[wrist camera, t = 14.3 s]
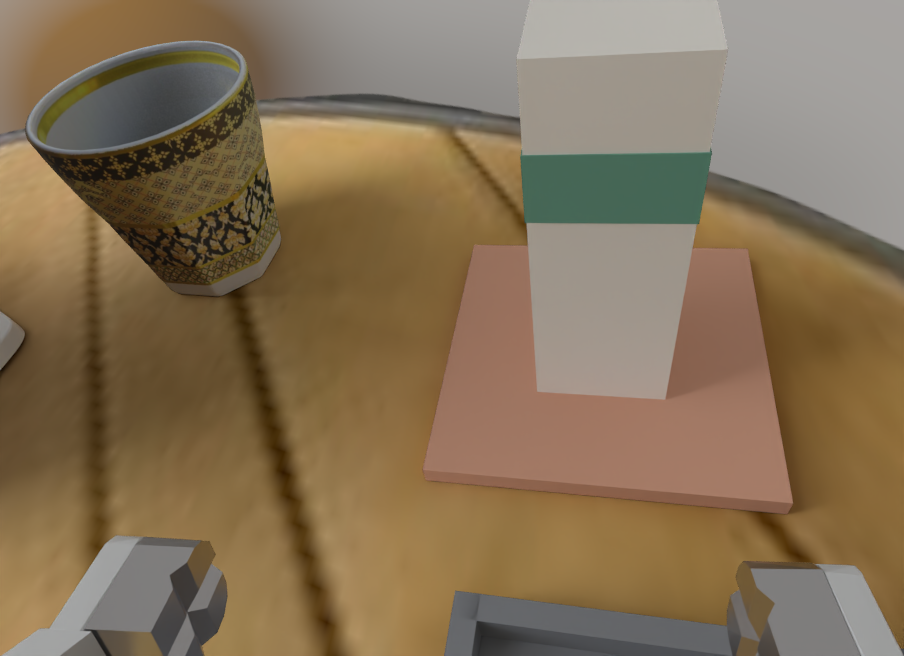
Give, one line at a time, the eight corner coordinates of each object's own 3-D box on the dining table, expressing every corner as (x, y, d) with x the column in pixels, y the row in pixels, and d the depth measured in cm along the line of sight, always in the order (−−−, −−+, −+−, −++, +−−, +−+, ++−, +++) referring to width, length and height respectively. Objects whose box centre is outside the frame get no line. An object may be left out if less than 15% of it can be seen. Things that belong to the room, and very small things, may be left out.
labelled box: (535, 392, 27) (514, 60, 16) (545, 302, 30) (532, -21, 20) (666, 400, 26) (730, 50, 15) (662, 306, 29) (712, -34, 19)
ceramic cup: (339, 263, 35) (278, 88, 28) (159, 352, 32) (39, 184, 25) (256, 161, 43) (192, 5, 36) (107, 226, 41) (5, 71, 33)
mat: (425, 480, 26) (422, 469, 25) (475, 256, 34) (474, 244, 33) (787, 514, 23) (792, 503, 22) (744, 261, 31) (747, 248, 31)
